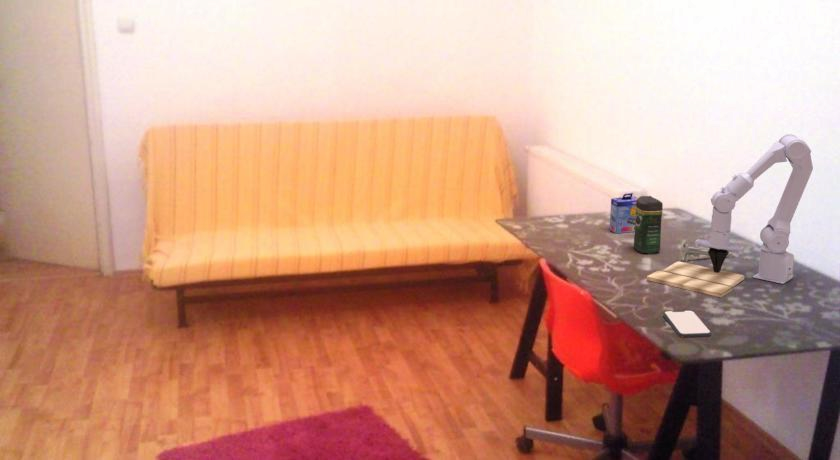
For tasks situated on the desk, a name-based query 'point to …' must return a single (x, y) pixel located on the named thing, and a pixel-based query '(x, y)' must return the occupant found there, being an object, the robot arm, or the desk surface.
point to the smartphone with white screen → (687, 323)
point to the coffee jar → (648, 224)
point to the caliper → (694, 252)
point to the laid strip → (690, 283)
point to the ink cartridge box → (623, 214)
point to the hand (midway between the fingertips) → (717, 272)
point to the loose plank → (705, 273)
